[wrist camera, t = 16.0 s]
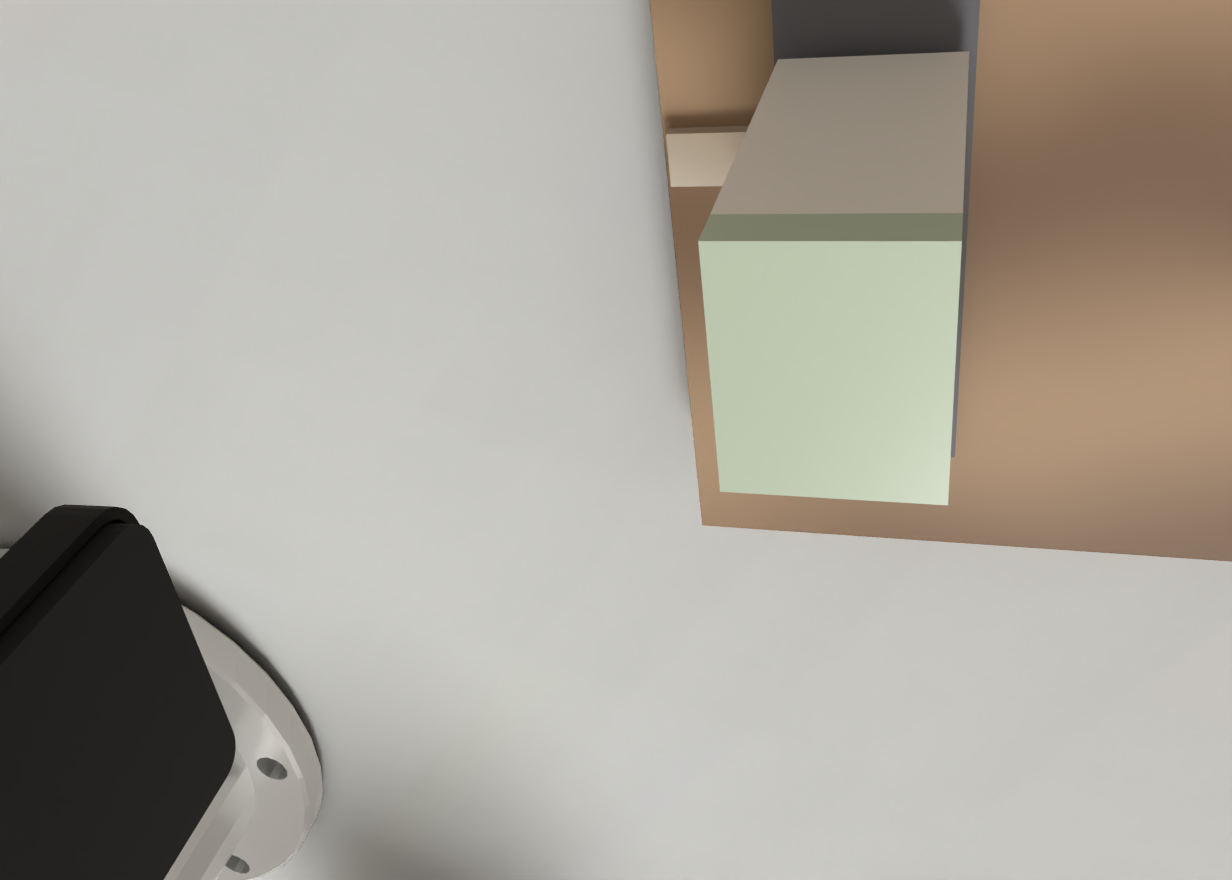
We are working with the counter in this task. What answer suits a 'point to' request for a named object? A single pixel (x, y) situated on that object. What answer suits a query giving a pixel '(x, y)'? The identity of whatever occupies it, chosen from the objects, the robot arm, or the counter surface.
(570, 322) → the counter surface
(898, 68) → the sage-capped tab
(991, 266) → the wooden board
